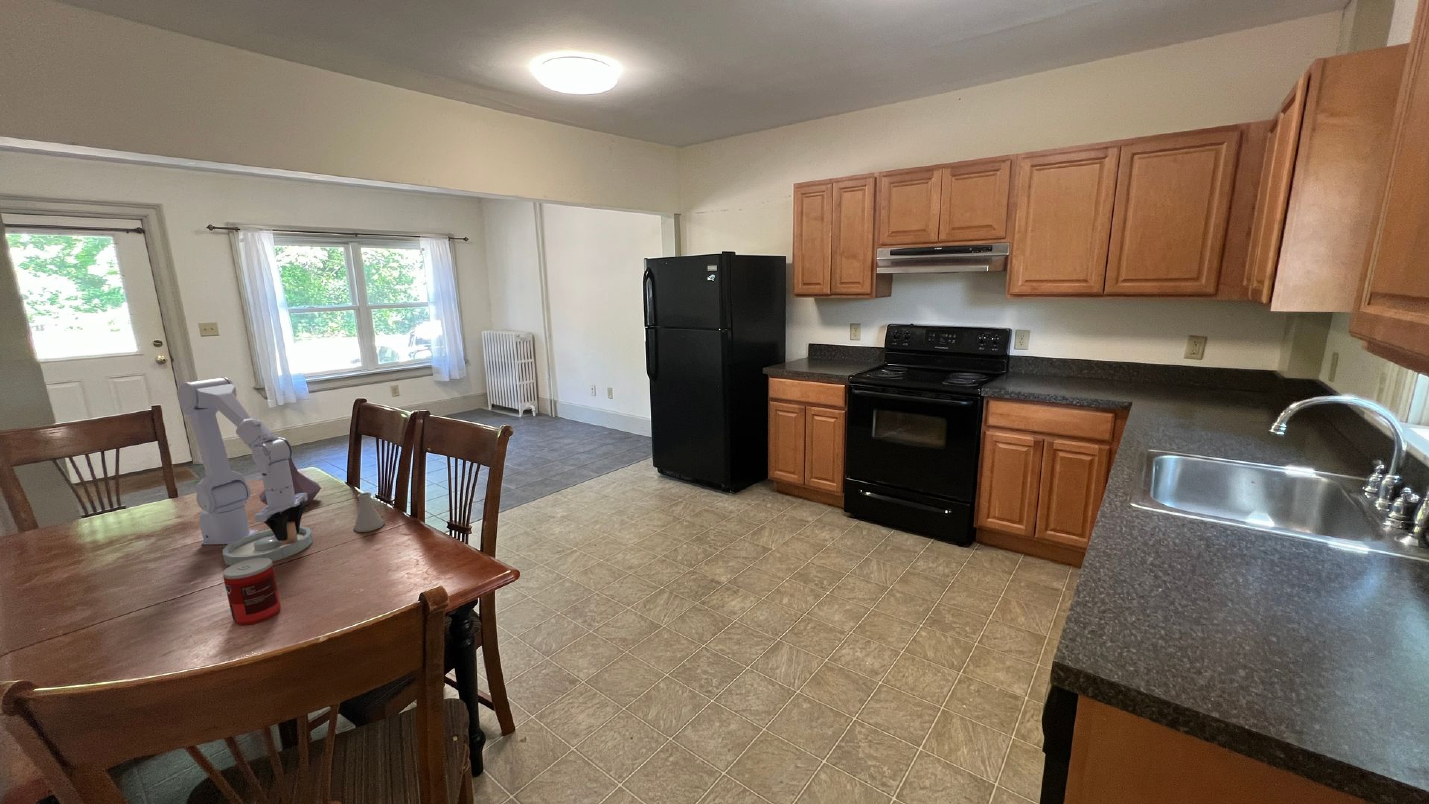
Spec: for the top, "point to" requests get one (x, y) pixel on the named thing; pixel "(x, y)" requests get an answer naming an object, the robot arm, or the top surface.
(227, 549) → the groove tray
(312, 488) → the flask
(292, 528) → the peach rounded cylinder
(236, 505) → the robot arm
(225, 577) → the canned food
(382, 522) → the flask
